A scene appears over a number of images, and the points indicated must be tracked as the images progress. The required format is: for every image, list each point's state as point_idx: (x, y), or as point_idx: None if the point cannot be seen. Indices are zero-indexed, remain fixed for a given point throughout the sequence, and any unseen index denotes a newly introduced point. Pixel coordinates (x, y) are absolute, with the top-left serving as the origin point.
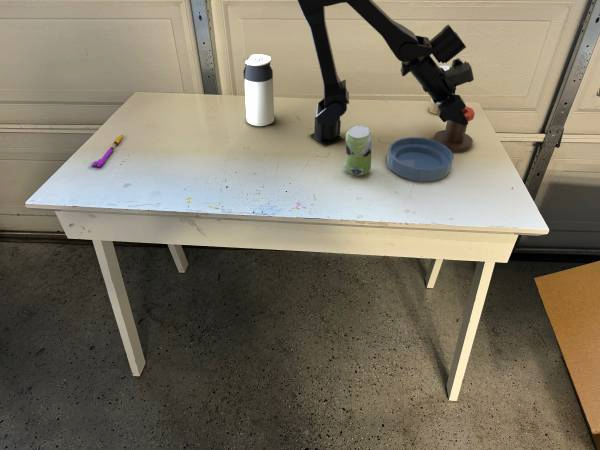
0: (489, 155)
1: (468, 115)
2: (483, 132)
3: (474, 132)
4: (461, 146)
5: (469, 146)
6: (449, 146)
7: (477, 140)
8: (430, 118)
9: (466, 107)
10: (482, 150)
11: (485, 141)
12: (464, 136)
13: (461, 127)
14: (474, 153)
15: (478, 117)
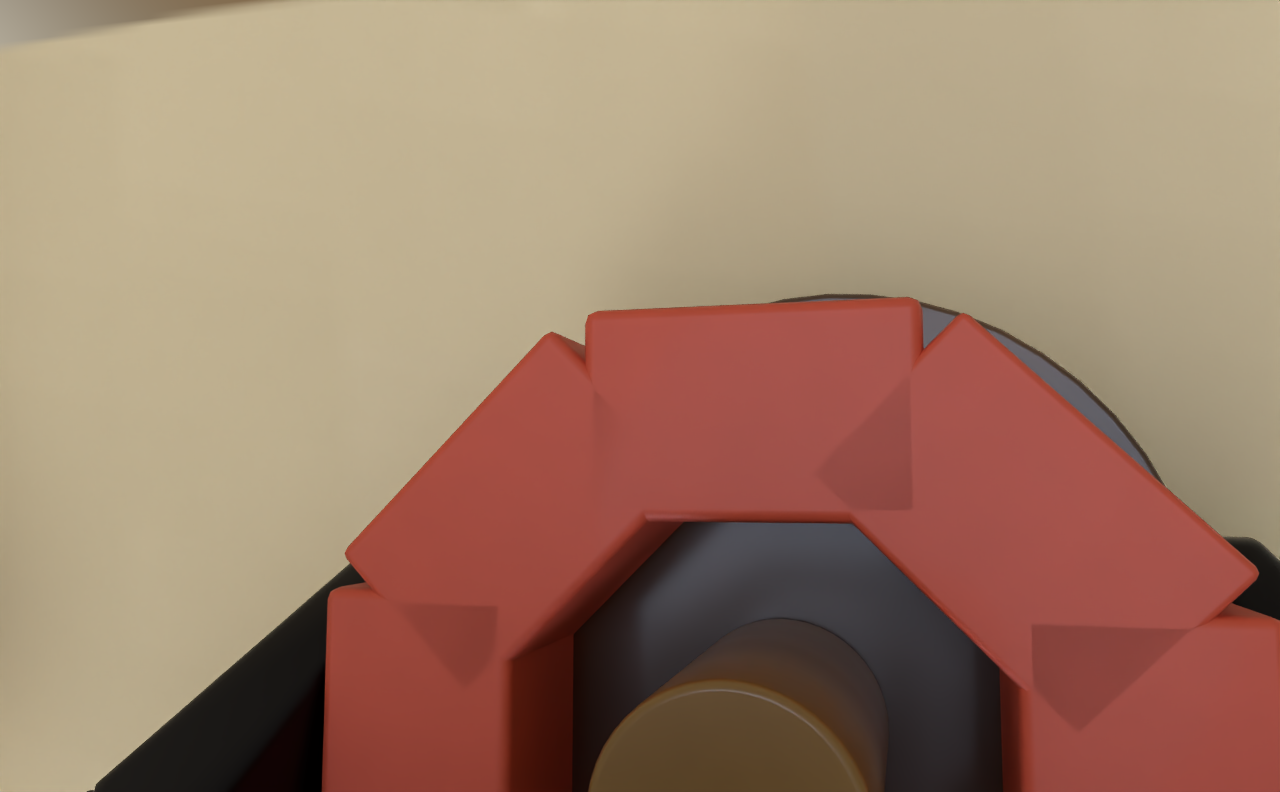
0: (1198, 65)
1: (1180, 582)
2: (450, 62)
3: (459, 193)
4: None
5: (1070, 378)
6: None
7: (702, 185)
8: (86, 777)
9: (495, 502)
10: (1031, 154)
11: (722, 68)
12: None
13: None
14: (1159, 301)
15: (47, 76)
